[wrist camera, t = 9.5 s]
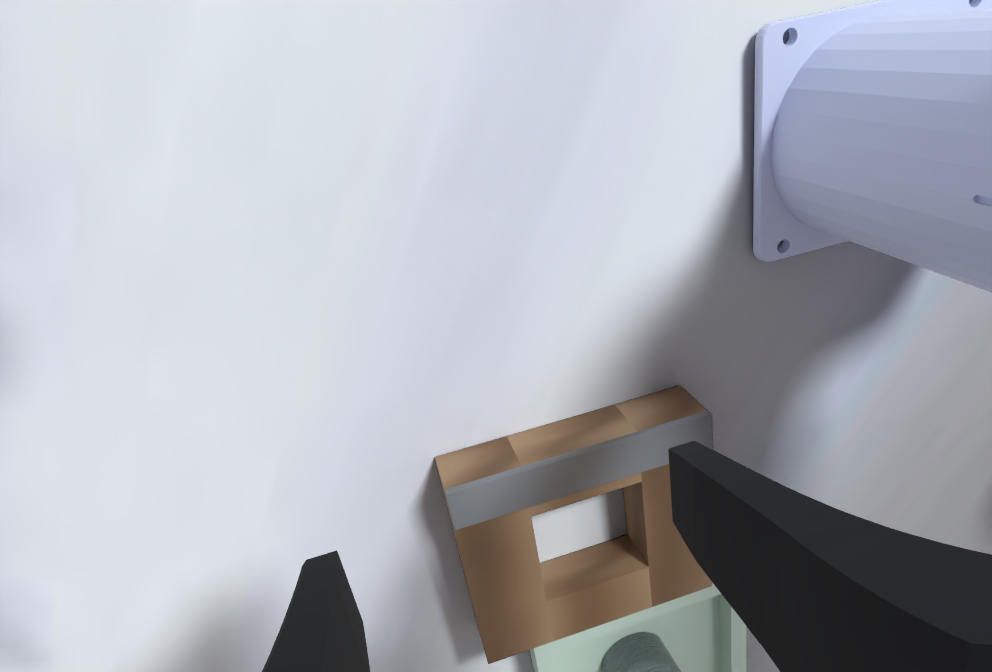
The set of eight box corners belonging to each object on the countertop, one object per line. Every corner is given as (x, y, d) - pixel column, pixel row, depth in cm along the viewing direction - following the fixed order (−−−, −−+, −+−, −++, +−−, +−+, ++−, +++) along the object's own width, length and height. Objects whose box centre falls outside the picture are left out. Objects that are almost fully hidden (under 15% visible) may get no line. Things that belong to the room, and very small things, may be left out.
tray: (727, 548, 30) (746, 571, 29) (729, 689, 35) (745, 714, 33) (523, 618, 29) (533, 646, 27) (551, 756, 33) (561, 785, 32)
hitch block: (680, 385, 26) (712, 414, 24) (688, 554, 30) (715, 591, 28) (434, 457, 24) (446, 494, 22) (477, 625, 28) (490, 670, 26)
